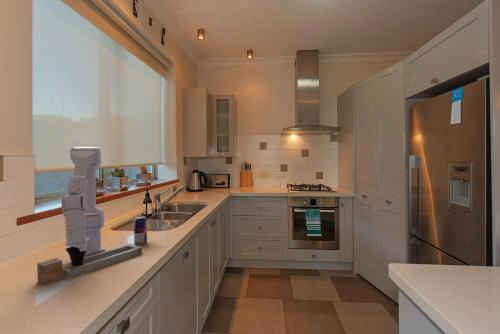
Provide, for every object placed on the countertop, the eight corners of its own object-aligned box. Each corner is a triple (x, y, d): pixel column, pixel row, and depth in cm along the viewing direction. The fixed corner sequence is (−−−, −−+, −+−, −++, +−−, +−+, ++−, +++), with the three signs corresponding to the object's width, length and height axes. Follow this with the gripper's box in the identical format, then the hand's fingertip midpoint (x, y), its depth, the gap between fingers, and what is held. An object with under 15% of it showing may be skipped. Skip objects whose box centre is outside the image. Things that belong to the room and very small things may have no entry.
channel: (57, 272, 87) (57, 265, 87) (130, 249, 108) (130, 243, 108) (67, 279, 82) (67, 271, 82) (141, 253, 103) (141, 247, 103)
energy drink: (142, 245, 113) (141, 218, 112) (131, 245, 114) (130, 218, 114) (149, 241, 118) (148, 216, 118) (139, 241, 119) (138, 215, 119)
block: (38, 282, 80) (37, 263, 80) (69, 270, 88) (69, 253, 88) (44, 285, 78) (43, 266, 78) (76, 273, 86) (75, 256, 86)
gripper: (96, 229, 86) (98, 268, 87) (81, 223, 95) (83, 258, 96) (72, 234, 81) (74, 276, 81) (58, 227, 90) (60, 265, 90)
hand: (77, 267), depth 88 cm, fingers closed
